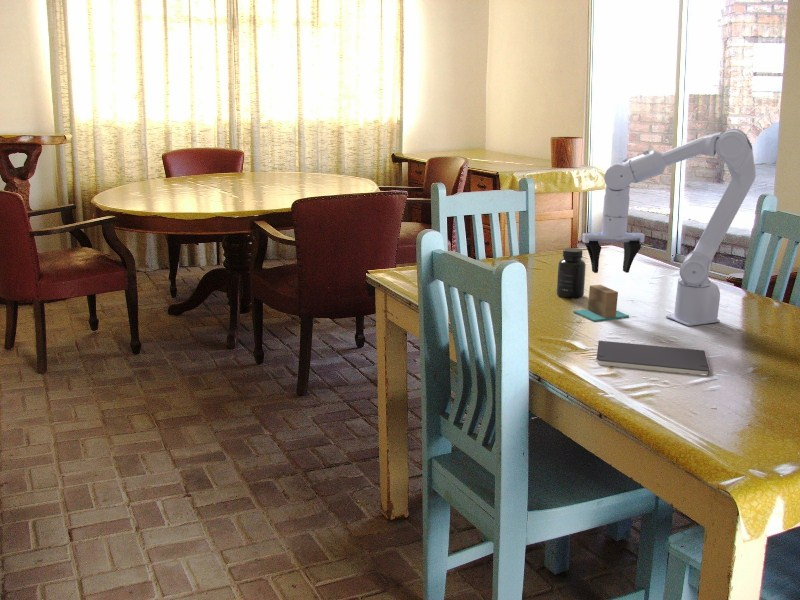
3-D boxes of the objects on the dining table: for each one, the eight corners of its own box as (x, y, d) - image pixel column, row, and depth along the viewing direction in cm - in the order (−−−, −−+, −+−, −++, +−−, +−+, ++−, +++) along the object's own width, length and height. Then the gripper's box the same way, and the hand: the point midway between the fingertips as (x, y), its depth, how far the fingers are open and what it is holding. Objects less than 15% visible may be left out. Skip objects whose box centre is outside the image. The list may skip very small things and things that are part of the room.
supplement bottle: (563, 290, 224) (566, 245, 221) (587, 295, 220) (591, 249, 217) (551, 296, 219) (554, 250, 215) (576, 301, 215) (580, 253, 212)
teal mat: (607, 308, 209) (607, 306, 209) (628, 317, 202) (629, 315, 202) (573, 312, 205) (573, 310, 205) (593, 321, 198) (593, 319, 198)
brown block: (587, 310, 206) (589, 285, 204) (598, 308, 207) (600, 284, 205) (604, 318, 199) (607, 293, 198) (615, 316, 200) (618, 292, 199)
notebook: (703, 357, 177) (597, 347, 182) (704, 350, 176) (598, 340, 181) (709, 378, 165) (595, 367, 170) (710, 370, 165) (596, 359, 170)
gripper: (591, 218, 197) (586, 276, 200) (651, 218, 198) (646, 275, 202) (581, 213, 203) (576, 269, 207) (640, 213, 205) (634, 268, 209)
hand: (610, 271), depth 205 cm, fingers open, 7 cm apart
